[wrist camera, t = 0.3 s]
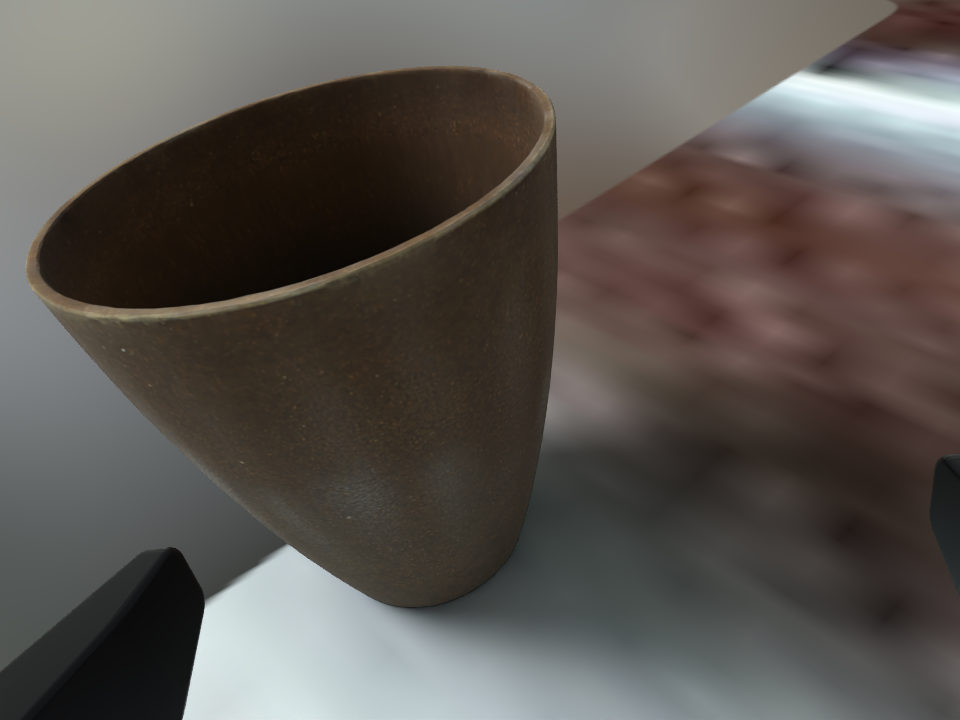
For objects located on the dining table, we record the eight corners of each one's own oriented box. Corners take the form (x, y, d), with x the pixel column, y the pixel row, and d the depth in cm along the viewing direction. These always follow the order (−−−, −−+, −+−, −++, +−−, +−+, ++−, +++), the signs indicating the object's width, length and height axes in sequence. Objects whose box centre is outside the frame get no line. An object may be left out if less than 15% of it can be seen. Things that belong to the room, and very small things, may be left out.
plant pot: (269, 787, 25) (-29, 403, 15) (233, 482, 36) (53, 160, 27) (691, 598, 27) (661, 161, 17) (528, 369, 39) (458, 35, 29)
